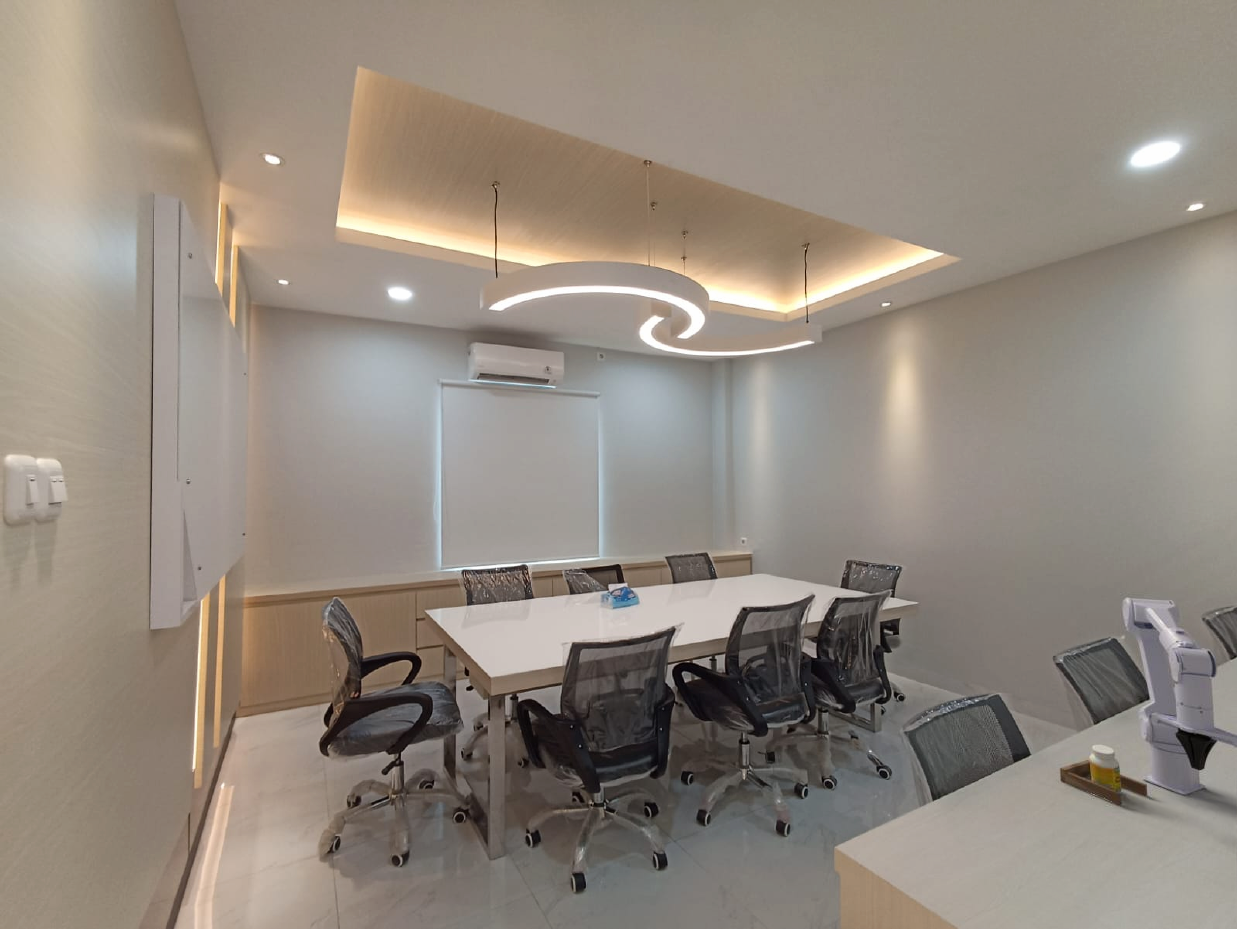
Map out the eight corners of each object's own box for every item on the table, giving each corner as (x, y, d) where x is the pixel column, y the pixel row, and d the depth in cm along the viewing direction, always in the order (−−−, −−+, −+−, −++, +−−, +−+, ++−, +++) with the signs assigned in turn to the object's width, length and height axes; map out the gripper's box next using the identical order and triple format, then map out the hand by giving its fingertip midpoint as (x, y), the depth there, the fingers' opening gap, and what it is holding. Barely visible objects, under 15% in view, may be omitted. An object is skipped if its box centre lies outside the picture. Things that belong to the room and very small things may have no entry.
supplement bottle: (1092, 779, 138) (1089, 740, 137) (1122, 786, 134) (1118, 746, 134) (1091, 790, 134) (1087, 751, 133) (1121, 798, 130) (1117, 757, 130)
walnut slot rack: (1087, 772, 142) (1087, 760, 143) (1147, 795, 131) (1146, 782, 132) (1060, 780, 138) (1060, 768, 138) (1119, 805, 127) (1118, 792, 127)
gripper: (1142, 696, 129) (1145, 757, 128) (1230, 719, 115) (1234, 788, 115) (1160, 691, 131) (1163, 751, 131) (1248, 714, 118) (1252, 781, 117)
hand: (1197, 768), depth 123 cm, fingers closed
